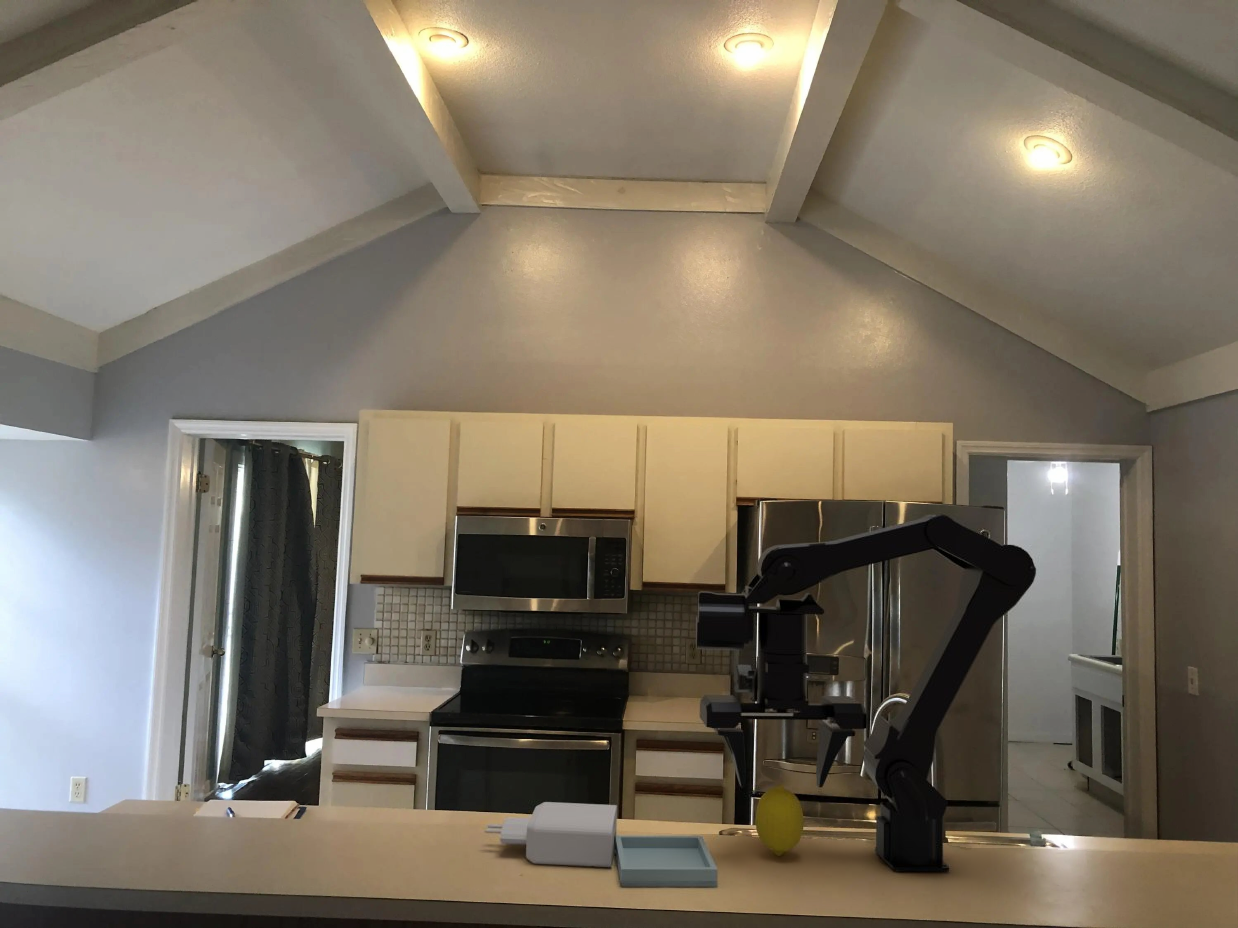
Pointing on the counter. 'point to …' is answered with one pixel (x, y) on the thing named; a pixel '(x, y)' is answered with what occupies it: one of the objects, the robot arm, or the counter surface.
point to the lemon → (779, 819)
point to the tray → (664, 861)
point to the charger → (564, 834)
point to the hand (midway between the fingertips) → (781, 786)
